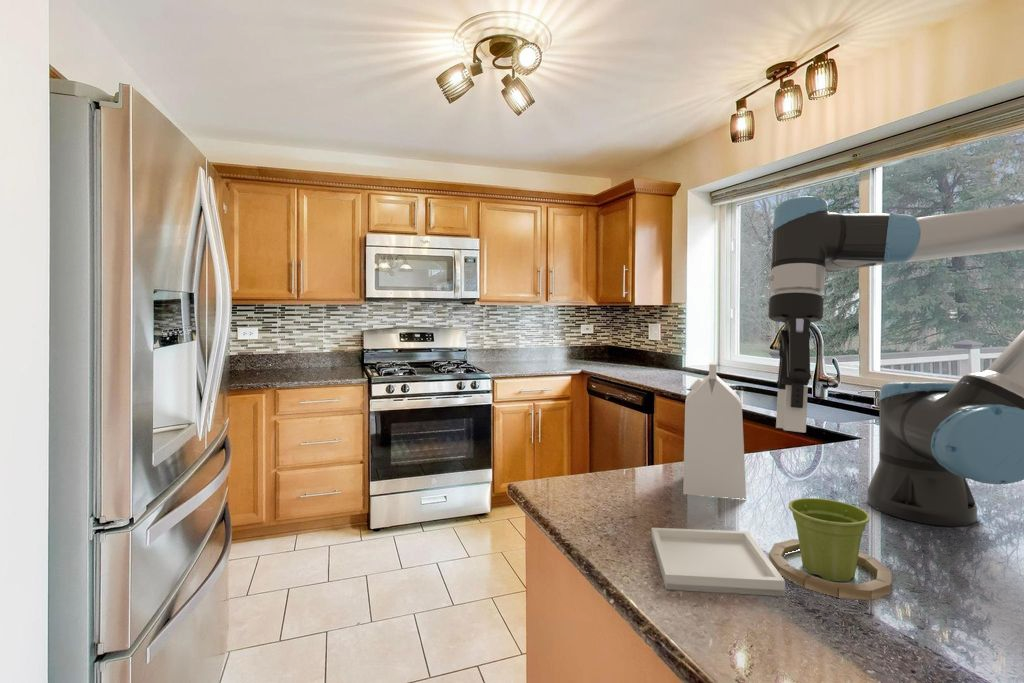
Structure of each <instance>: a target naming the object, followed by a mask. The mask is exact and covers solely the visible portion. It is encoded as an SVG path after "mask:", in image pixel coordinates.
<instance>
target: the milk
mask: <svg viewBox="0 0 1024 683" xmlns="http://www.w3.org/2000/svg"><path fill="white" fill-rule="evenodd" d="M717 366H718V365H717V361H709V366H708V367H709V368H708V375H706V376H705V377H704V378H703V379H701V378H700V377H699V378H697V380H695V381H694V382H693V383H692V384H691V385H690V387H689V388H690V389H691V390H690V391H689V392H688V393H687V394H686V398H685V404H684V409H685V410H684V438H683V439H684V441H683V442H684V444H683V447H684V448H683V485H682V486H683V490H682V491H683V493H682V494H683V495H686V494H690V495H689V496H695V495H704V496H703V497H705V496H714V497H713V498H715V497H728V498H740V499H742V498H744V499H746V500H747V490H746V489H747V488H746V487H747V486H746V484H747V483H746V467H745V466H746V464H745V443H744V440H745V439H744V424H743V422H744V421H743V406H742V401H741V397H740V396H739V394H737V392H735V390H734V389H732V387H730V386H729V385H728V384H727V383H726V382H725V381H724V380H723V379H722V378H721V377H720V376H718V375H717V370H718V368H717Z"/></svg>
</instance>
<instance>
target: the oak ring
mask: <svg viewBox="0 0 1024 683" xmlns="http://www.w3.org/2000/svg"><path fill="white" fill-rule="evenodd" d="M798 549H800V545H799V539H795V538H794V539H786V540H784V541H780V542H776V543H774V544H773V546H772V547H771V549H770V551H769V553H768V559H769V560H770V561H771V563H772V564H773V565H774V567H775V568H776V569H777V571H778V572H779V573H780V575H782V576H783V578H784V577H785V578H784V579H786V578H787V579H790V580H791V581H793V582H795V583H796V584H795V583H794V584H795V585H797V584H798V585H800V586H802V587H803V588H802V587H801V588H802V589H805V588H806V589H805V590H807V589H809V590H808V591H811V590H813V591H812V592H815V591H817V592H816V593H818V592H819V594H822V593H825V594H827V595H826V596H829V595H832V596H835V597H834V598H836V597H837V598H836V599H844V598H845V599H847V600H862V601H864V600H865V601H873V600H875V599H879V598H882V597H884V596H887V595H890V594H891V593H892V586H893V585H892V584H893V583H892V582H893V581H892V580H893V576H892V575H893V572H892V570H891V569H889V568H888V567H887V566H885V565H884V564H883V563H882V562H881V561H879V560H878V559H877V558H876V557H873V556H871V555H869V554H866V553H864V552H861V551H860V550H859V554H858V560H857V565H859V566H861V567H864V568H865V569H867V570H868V571H869V573H871V574H872V575H873V576H874V577H876V579H872V580H869V581H867V582H863V583H849V582H848V583H847V582H836V581H832V580H827V579H824V578H819V577H815V576H813V575H809V574H808V573H805V572H803V571H801V570H799V569H797V568H796V567H793V566H792V565H790V564H789V563H788V561H787V560H786V559H785V557H784V555H785V553H788V552H792V551H796V550H798ZM785 556H786V555H785ZM783 557H784V558H783ZM787 579H786V580H787ZM791 581H790V582H791ZM793 582H792V583H793ZM798 585H797V586H798ZM800 586H799V587H800ZM804 587H805V588H804ZM825 594H824V595H825ZM832 596H831V597H832ZM838 597H839V598H838Z"/></svg>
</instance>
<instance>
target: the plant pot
mask: <svg viewBox="0 0 1024 683" xmlns="http://www.w3.org/2000/svg"><path fill="white" fill-rule="evenodd" d="M788 508H789V510H790V511H791V512H792V518H793V520H794V521H795V524H796V525H795V526H796V531H797V536H798V539H799V545H800V556H801V557H800V558H801V563H802V567H803V569H804V568H805V569H806V570H805V569H804V570H805V571H806V572H808V573H809V574H811V575H818V576H819V577H821V579H824V580H828V581H832V582H848V581H850V580H852V578H855V576H856V571H857V570H856V569H857V566H858V564H857V560H858V554H859V551H860V547H861V542H862V536H863V532H864V531H865V529H866V525H867V524H868V523H869V522H870V519H871V516H870V514H869V513H868V512H867V511H865V510H864V509H862V508H861V507H859V506H856V505H853V504H849V503H846V502H843V501H839V500H833V499H827V498H817V497H802V498H796V499H793V500H791V501H790V502H788Z"/></svg>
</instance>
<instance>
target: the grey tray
mask: <svg viewBox="0 0 1024 683" xmlns="http://www.w3.org/2000/svg"><path fill="white" fill-rule="evenodd" d="M651 542H652V543H651V544H652V546H653V549H654V552H655V553H654V554H655V556H656V560H657V564H658V566H659V571H660V574H661V578H662V581H663V584H664V587H665V588H664V589H665V590H669V591H670V590H671V591H686V592H687V591H688V592H701V593H702V592H703V593H704V592H705V593H720V594H721V593H722V594H723V593H725V594H738V595H752V596H753V595H755V596H756V595H758V596H774V597H786V579H785V578H784V577H782V576H781V575H780V573H779V572H778V571H777V569H776V568H775V567H774V565H773V564H772V563H771V561H770V560H769V556H767V555H766V554H765V552H764V550H762V548H761V547H760V545H759V544H758V543H757V541H756V540H755V539H754V537H753V536H752V535H751V534H750V532H749V531H748V530H746V531H744V530H743V531H742V530H722V529H720V530H719V529H717V530H716V529H715V530H714V529H697V528H695V529H693V528H692V529H691V528H671V527H670V528H669V527H651Z"/></svg>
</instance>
